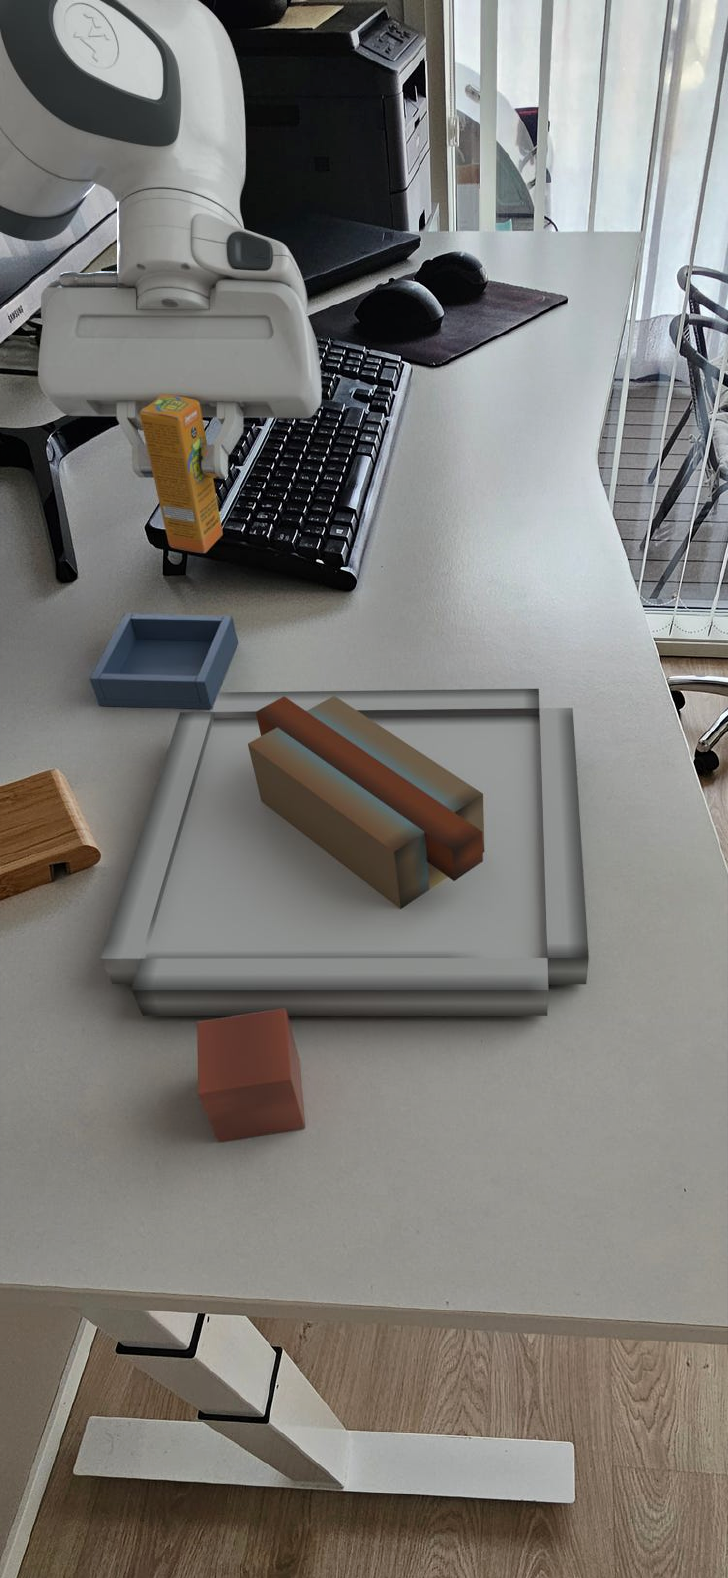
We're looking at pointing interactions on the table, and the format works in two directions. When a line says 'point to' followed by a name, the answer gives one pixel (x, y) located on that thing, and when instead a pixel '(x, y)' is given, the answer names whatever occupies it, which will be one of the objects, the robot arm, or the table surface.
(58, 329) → the robot arm
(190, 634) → the blue tray
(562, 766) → the grey square tray
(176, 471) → the supplement box
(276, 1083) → the rust block
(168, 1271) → the table surface
